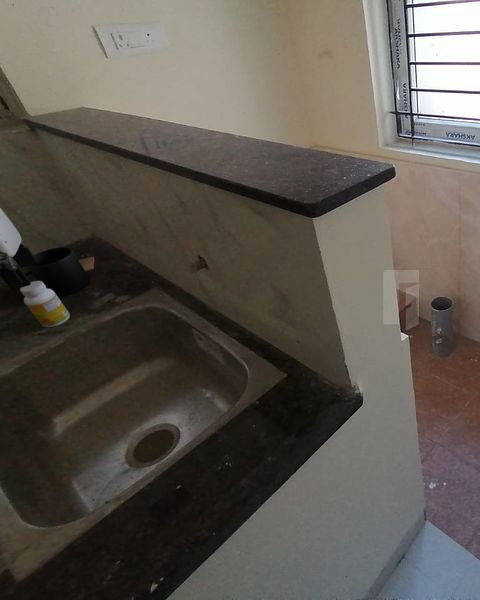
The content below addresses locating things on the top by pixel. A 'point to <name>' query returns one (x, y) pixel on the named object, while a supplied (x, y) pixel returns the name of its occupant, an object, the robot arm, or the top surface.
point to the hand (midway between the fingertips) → (25, 275)
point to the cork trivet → (87, 263)
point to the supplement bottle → (44, 304)
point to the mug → (59, 271)
